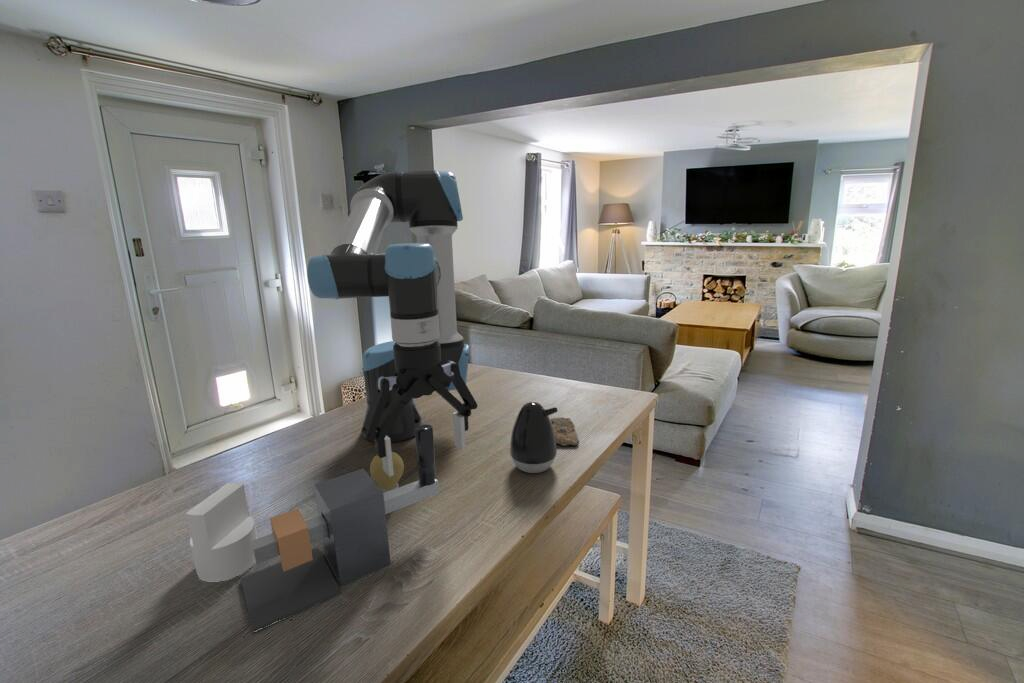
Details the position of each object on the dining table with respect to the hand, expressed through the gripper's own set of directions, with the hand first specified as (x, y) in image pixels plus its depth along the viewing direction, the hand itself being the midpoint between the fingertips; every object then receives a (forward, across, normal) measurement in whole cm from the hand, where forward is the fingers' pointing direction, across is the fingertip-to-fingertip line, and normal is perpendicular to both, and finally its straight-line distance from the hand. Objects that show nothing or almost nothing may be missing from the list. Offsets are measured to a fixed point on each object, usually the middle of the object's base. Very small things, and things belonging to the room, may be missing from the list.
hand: (426, 460), depth 83 cm
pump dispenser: (+13, +28, +5) cm, 31 cm away
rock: (+14, +42, +12) cm, 45 cm away
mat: (+13, -24, 0) cm, 27 cm away
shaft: (+6, -13, 0) cm, 14 cm away
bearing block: (+13, -14, 0) cm, 19 cm away
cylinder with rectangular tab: (+14, -30, +12) cm, 35 cm away
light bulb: (+13, -2, +13) cm, 19 cm away
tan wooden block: (+8, -22, 0) cm, 24 cm away
